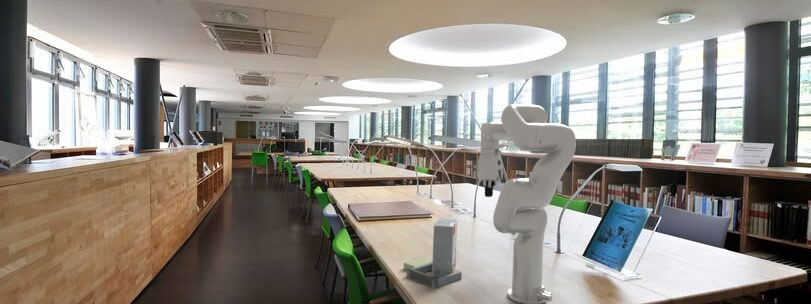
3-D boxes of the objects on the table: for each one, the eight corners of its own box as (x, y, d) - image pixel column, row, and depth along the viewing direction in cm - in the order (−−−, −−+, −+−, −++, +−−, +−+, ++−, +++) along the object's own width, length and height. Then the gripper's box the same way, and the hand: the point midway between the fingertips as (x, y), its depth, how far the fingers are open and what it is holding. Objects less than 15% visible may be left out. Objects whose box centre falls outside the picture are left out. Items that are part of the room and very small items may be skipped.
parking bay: (461, 278, 144) (461, 270, 144) (434, 288, 135) (435, 279, 134) (433, 267, 155) (433, 260, 155) (406, 276, 146) (406, 268, 146)
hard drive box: (451, 279, 143) (452, 227, 142) (431, 277, 145) (432, 225, 144) (456, 266, 158) (457, 218, 157) (438, 264, 160) (439, 217, 159)
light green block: (433, 268, 155) (433, 261, 155) (415, 274, 149) (415, 267, 149) (421, 264, 161) (421, 257, 161) (403, 269, 154) (403, 262, 154)
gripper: (510, 153, 155) (509, 198, 155) (480, 151, 166) (479, 193, 167) (499, 153, 150) (498, 199, 150) (469, 152, 161) (468, 195, 162)
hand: (488, 196), depth 158 cm, fingers closed
